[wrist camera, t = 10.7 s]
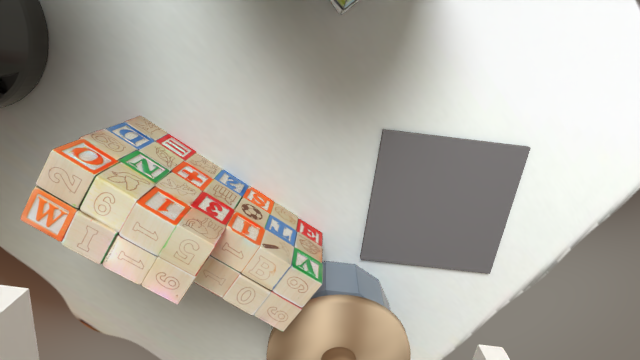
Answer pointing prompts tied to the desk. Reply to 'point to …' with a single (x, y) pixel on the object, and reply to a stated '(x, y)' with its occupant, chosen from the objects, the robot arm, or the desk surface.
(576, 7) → the desk surface
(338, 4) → the tea box
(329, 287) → the bowl
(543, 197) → the desk surface
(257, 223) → the stack of blocks
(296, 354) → the lid
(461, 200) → the mat
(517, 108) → the desk surface
